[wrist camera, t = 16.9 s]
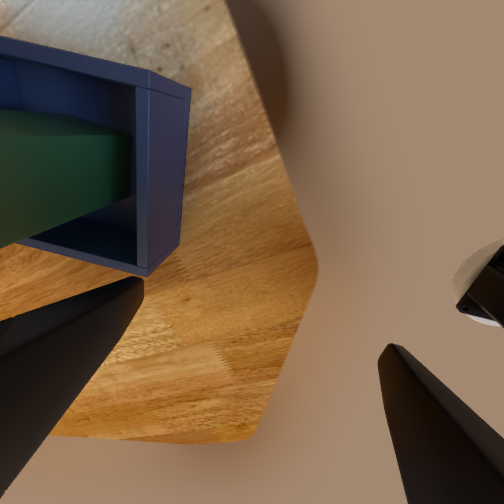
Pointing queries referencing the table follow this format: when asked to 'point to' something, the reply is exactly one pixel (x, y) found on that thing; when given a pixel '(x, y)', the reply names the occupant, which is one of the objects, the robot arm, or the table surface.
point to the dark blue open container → (120, 118)
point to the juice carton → (57, 170)
